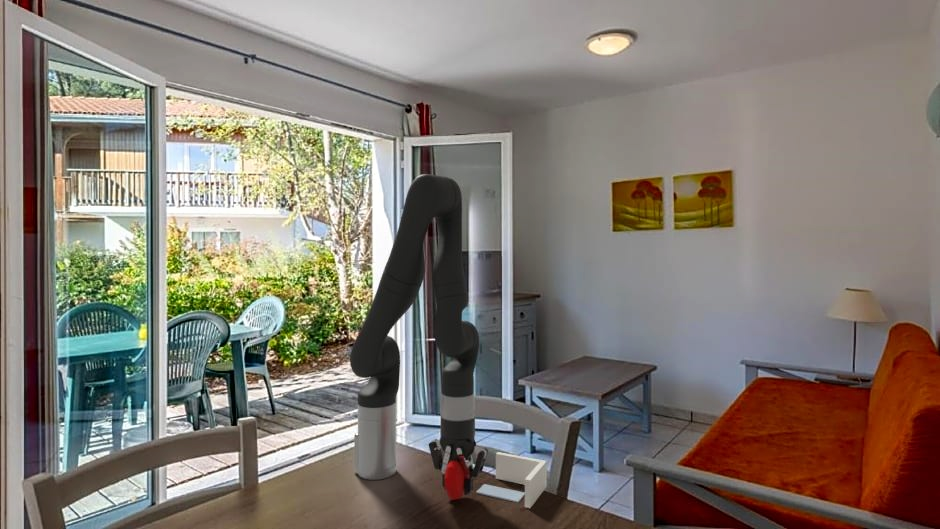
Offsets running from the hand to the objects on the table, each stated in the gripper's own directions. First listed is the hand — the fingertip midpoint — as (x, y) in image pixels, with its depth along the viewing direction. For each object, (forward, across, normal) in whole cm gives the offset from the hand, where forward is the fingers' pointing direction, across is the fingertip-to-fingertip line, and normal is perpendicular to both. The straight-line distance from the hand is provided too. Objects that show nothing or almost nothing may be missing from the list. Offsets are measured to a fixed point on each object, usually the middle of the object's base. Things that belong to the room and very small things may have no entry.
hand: (457, 490), depth 114 cm
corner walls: (+2, +9, +8) cm, 13 cm away
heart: (+2, 0, 0) cm, 2 cm away
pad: (+2, +7, +6) cm, 10 cm away
